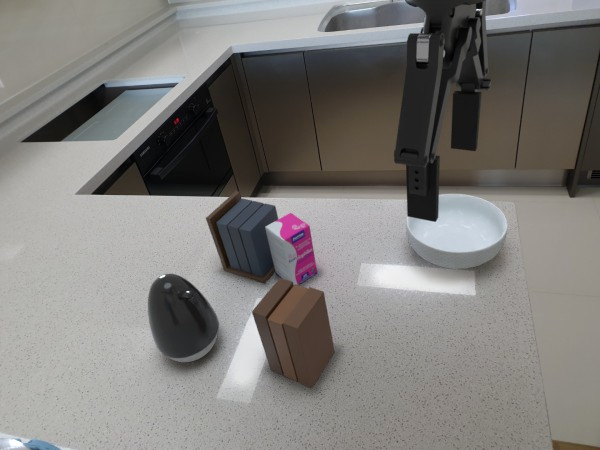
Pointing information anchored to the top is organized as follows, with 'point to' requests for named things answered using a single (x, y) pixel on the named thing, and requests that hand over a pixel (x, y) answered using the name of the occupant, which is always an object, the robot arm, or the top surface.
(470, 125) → the robot arm
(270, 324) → the brown books
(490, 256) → the cereal bowl
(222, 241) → the slate books
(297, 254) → the supplement box
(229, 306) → the top surface
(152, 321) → the dark grey egg shape
